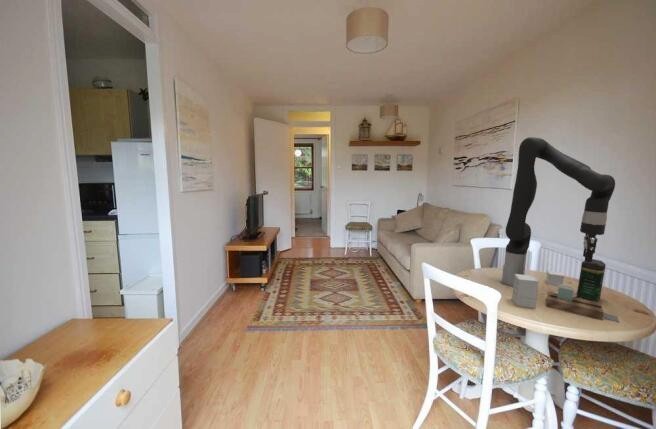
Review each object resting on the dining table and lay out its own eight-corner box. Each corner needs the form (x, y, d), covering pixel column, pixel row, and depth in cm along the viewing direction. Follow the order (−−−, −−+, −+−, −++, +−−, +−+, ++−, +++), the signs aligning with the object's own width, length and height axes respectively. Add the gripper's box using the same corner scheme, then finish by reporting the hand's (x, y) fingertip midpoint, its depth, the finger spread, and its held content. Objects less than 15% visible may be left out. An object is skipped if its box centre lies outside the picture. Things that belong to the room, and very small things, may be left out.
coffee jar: (596, 303, 127) (603, 264, 124) (574, 297, 133) (579, 259, 131) (602, 298, 133) (608, 260, 130) (580, 292, 139) (585, 256, 136)
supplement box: (529, 301, 128) (533, 275, 127) (535, 309, 122) (539, 281, 120) (511, 299, 131) (514, 273, 129) (516, 306, 124) (519, 278, 122)
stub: (556, 304, 125) (559, 285, 124) (556, 303, 126) (559, 283, 125) (571, 307, 122) (574, 288, 121) (571, 306, 123) (573, 286, 122)
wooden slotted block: (545, 306, 124) (546, 298, 123) (547, 298, 132) (547, 291, 131) (602, 320, 113) (603, 311, 112) (599, 310, 121) (601, 302, 120)
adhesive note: (562, 286, 146) (563, 275, 145) (548, 284, 149) (549, 273, 148) (559, 283, 152) (561, 272, 151) (545, 280, 154) (547, 270, 153)
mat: (603, 318, 114) (603, 318, 114) (602, 313, 119) (602, 312, 119) (619, 322, 111) (619, 321, 111) (617, 316, 116) (617, 316, 116)
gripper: (580, 219, 126) (574, 253, 129) (582, 223, 115) (576, 261, 118) (603, 221, 121) (597, 257, 124) (608, 226, 110) (601, 265, 113)
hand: (587, 259), depth 121 cm, fingers open, 8 cm apart
